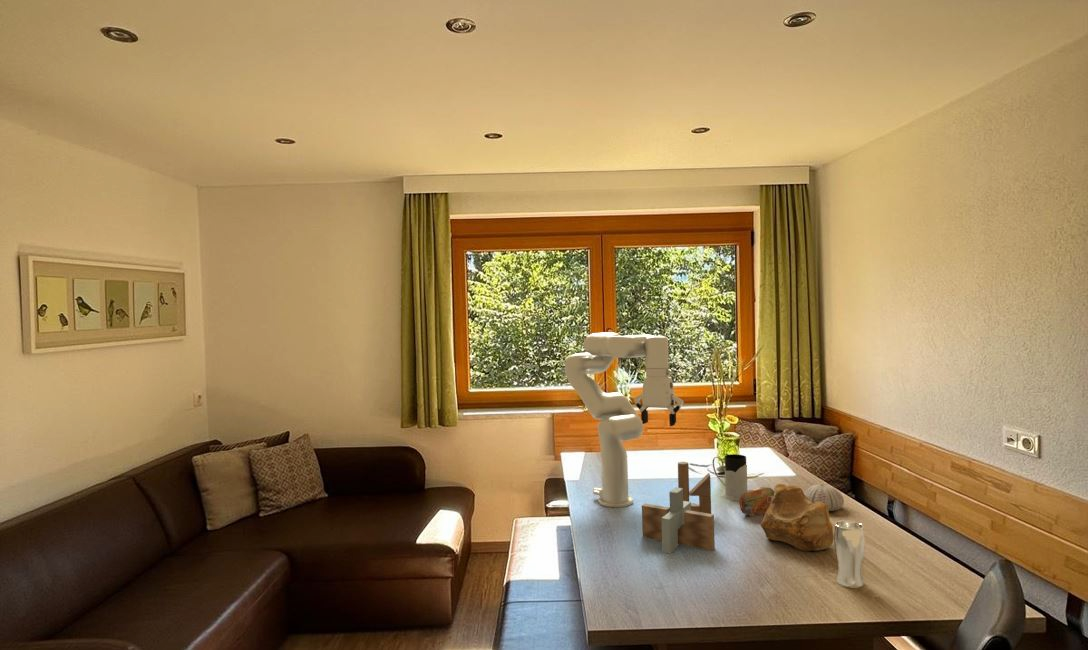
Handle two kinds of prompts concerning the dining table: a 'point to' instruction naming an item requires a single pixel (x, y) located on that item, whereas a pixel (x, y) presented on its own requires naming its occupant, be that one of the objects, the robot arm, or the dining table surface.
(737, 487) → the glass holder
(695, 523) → the walnut slotted board
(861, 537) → the beer glass
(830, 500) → the sea urchin shell
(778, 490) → the rough brown rock
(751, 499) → the tin
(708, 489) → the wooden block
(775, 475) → the dining table surface
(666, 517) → the grey slotted plate
